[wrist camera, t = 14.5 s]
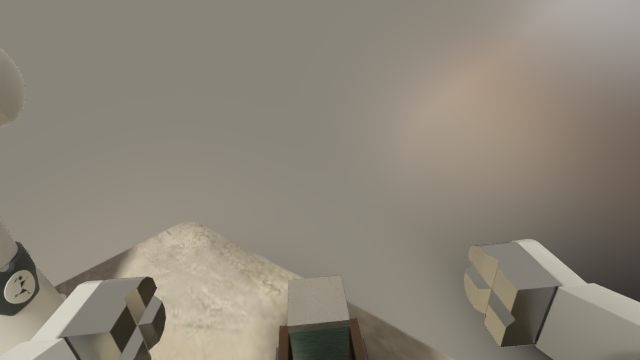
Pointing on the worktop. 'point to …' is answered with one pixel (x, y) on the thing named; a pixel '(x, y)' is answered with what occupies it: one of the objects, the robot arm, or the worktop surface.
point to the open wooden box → (355, 343)
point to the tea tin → (318, 319)
